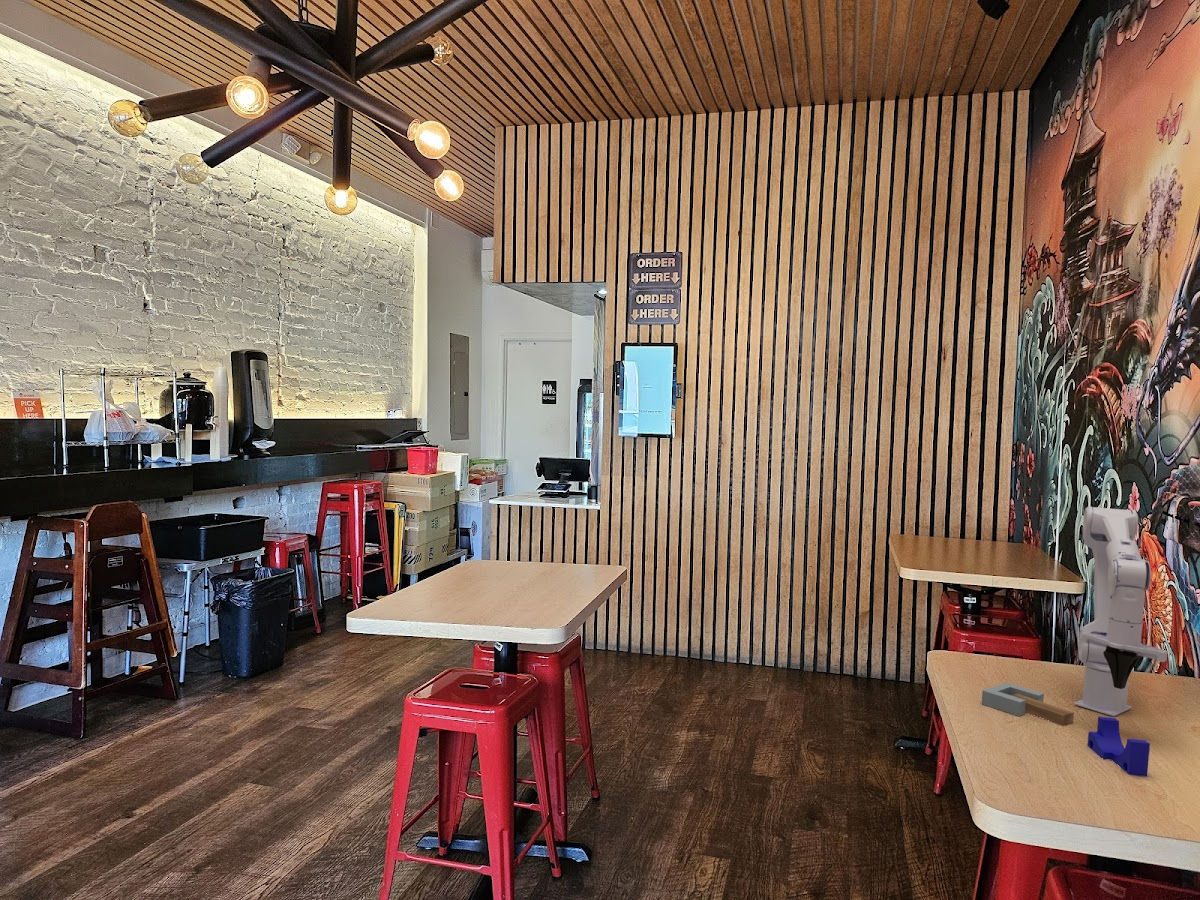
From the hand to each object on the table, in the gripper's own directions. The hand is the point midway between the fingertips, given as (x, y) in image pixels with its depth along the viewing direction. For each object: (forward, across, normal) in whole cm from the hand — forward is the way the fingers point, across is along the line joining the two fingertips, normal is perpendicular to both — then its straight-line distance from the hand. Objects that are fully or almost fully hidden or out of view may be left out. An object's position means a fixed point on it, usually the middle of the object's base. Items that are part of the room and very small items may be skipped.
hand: (1119, 687), depth 161 cm
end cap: (+9, -19, -3) cm, 21 cm away
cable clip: (+10, +6, -14) cm, 18 cm away
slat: (+10, -14, -3) cm, 17 cm away
